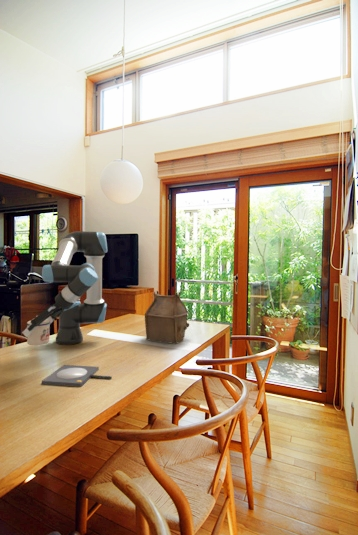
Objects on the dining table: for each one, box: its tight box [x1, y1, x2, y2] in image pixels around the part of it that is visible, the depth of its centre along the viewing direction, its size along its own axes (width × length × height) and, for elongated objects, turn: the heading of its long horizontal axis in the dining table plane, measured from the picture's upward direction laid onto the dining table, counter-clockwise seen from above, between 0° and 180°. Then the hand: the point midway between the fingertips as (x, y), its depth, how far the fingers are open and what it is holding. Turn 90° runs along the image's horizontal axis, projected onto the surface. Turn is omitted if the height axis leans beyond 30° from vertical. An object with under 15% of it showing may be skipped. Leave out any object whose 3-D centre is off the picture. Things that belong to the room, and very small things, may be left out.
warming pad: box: [41, 364, 113, 387], centre depth 123 cm, size 25×18×2 cm
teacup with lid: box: [26, 315, 51, 346], centre depth 129 cm, size 12×9×12 cm
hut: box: [144, 290, 190, 345], centre depth 185 cm, size 23×27×30 cm
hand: (33, 331), depth 129 cm, fingers closed on teacup with lid, 12 cm apart
